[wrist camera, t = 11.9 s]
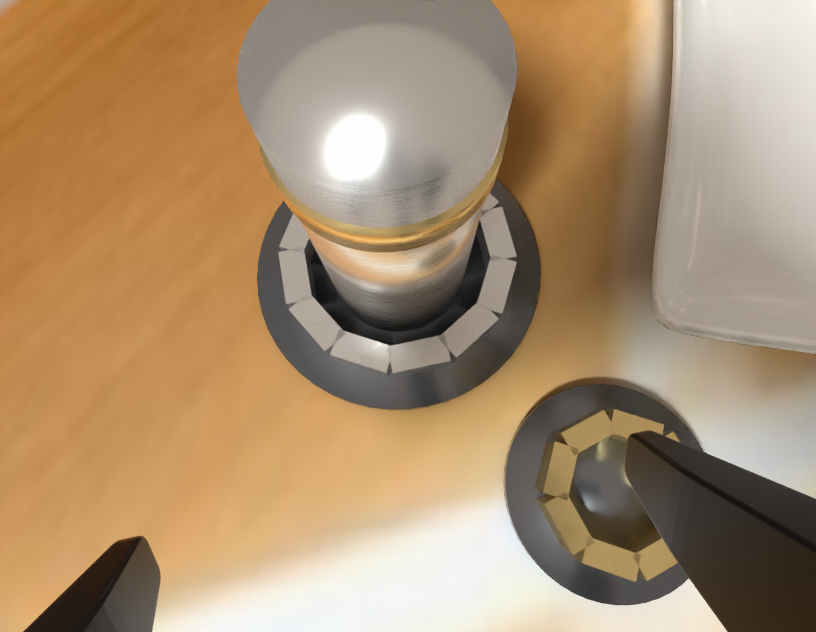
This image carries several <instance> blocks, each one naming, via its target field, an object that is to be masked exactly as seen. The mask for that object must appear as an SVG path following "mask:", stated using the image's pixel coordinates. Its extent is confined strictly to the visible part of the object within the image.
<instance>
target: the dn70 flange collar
mask: <svg viewBox="0 0 816 632" xmlns="http://www.w3.org/2000/svg"><path fill="white" fill-rule="evenodd" d="M257 281H258V296H259V300H260V305H261V310H262V314H263V317H264V319H265V322H266V325H267V328H268V330H269V332H270V334H271V336H272V338H273V339H274V341H275V343H276V345H277V346H278V348H279V349H280V351H281V352H282V353H283V355H284V356H285V357H286V359H287V360H288V361H289V362H290V363H291V364H292V365H293V366H294V367H295V368H296V369H297V370H298V371H299V372H300V373H301V374H302V375H303V376H304V377H306V378H307V379H308V380H310V381H311V382H312V383H313V384H315V385H316V386H318V387H320V388H321V389H323V390H325V391H326V392H328V393H330V394H332V395H333V396H336V397H338V398H341V399H343V400H345V401H348V402H350V403H353V404H357V405H361V406H365V407H369V408H376V409H384V410H412V409H419V408H425V407H431V406H434V405H437V404H441V403H444V402H448V401H450V400H452V399H455V398H457V397H459V396H461V395H464V394H466V393H467V392H469V391H471V390H472V389H474V388H476V387H477V386H479V385H480V384H482V383H483V382H484V381H486V380H487V379H488V378H489V377H491V376H492V375H493V374H494V373H495V372H497V371H498V370H499V369H500V368H501V367H502V365H503V364H504V363H505V362H506V361H507V360H508V359H509V358H510V357H511V356H512V354H513V353H514V351H515V350H516V348H517V347H518V346H519V344H520V343H521V341H522V340H523V338H524V336H525V334H526V332H527V330H528V328H529V326H530V324H531V321H532V318H533V315H534V312H535V309H536V305H537V300H538V295H539V289H540V263H539V254H538V250H537V245H536V241H535V237H534V235H533V232H532V230H531V227H530V224H529V222H528V220H527V218H526V216H525V215H524V213H523V211H522V209H521V207H520V206H519V205H518V203H517V202H516V200H515V199H514V198H513V196H512V195H511V194H510V193H509V191H508V190H507V189H506V188H505V187H504V186H503V185H502V184H501V183H500V182H499V181H498V180H497V179H496V180H495V182H494V185H493V187H492V189H491V192H490V193H489V195H488V197H487V198H486V200H485V201H484V204H483V208H482V212H481V216H480V219H479V223H478V227H477V230H476V234H475V238H474V241H473V245H472V249H471V252H470V256H469V260H468V263H467V267H466V271H465V274H464V278H463V282H462V285H461V289H460V291H459V294H458V296H457V298H456V300H455V301H454V303H453V304H452V306H451V307H450V308H449V309H448V311H447V312H446V313H444V314H443V315H442V316H441V317H440V318H439V319H437V320H436V321H434V322H433V323H431V324H429V325H427V326H424V327H422V328H419V329H415V330H411V331H404V332H392V331H385V330H381V329H377V328H374V327H372V326H370V325H367V324H366V323H364V322H362V321H361V320H359V319H358V318H357V317H355V316H354V315H353V314H352V313H351V312H350V311H349V310H348V308H347V307H346V306H345V304H344V303H343V301H342V299H341V298H340V296H339V294H338V292H337V290H336V288H335V286H334V284H333V282H332V280H331V279H330V277H329V275H328V273H327V271H326V269H325V267H324V265H323V263H322V261H321V259H320V257H319V256H318V254H317V252H316V250H315V248H314V246H313V244H312V242H311V240H310V238H309V236H308V235H307V233H306V231H305V229H304V227H303V225H302V223H301V221H300V220H299V219H298V218H297V217H296V216H295V215H294V214H293V213H292V211H291V210H290V209H289V207H288V206H287V205H286V203H285V201H283V203H282V204H281V206H280V207H279V208H278V210H277V211H276V213H275V215H274V217H273V219H272V221H271V223H270V224H269V226H268V229H267V232H266V234H265V237H264V240H263V243H262V247H261V251H260V256H259V261H258V274H257Z"/></svg>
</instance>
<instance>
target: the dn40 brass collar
mask: <svg viewBox="0 0 816 632" xmlns="http://www.w3.org/2000/svg"><path fill="white" fill-rule="evenodd" d="M646 430H651V431H654V432H656V433H659V434H661V435H664V436H666V437H668V438H671V439H673V440H676V441H678V442H680V443H683V444H685V445H688V446H690V447H692V448H695V449H697V450H700V451H702V449H701V448H700V446H699V444H698V442H697V441H696V439H695V438H694V436H693V435H692V434H691V432H690V431H689V430H688V428H687V427H686V426H685V425H684V424H683V423H682V422H681V421H680V420H679V418H678V417H676V416H675V415H674V414H673V413H672V412H671V411H669V410H668V409H667V408H666V407H664V406H663V405H661V404H660V403H658V402H657V401H655V400H654V399H652V398H650V397H648V396H646V395H644V394H642V393H639V392H637V391H634V390H631V389H628V388H624V387H620V386H615V385H606V384H591V385H584V386H578V387H575V388H571V389H568V390H565V391H562V392H560V393H558V394H556V395H553V396H551V397H550V398H548V399H547V400H545V401H543V402H542V403H540V404H539V405H538V406H537V407H536V408H535V409H533V410H532V411H531V412H530V413H529V415H528V416H527V417H526V418H525V419H524V420H523V422H522V423H521V425H520V426H519V428H518V429H517V431H516V433H515V435H514V437H513V439H512V441H511V444H510V447H509V450H508V453H507V457H506V462H505V467H504V496H505V501H506V506H507V511H508V514H509V517H510V520H511V524H512V526H513V528H514V530H515V532H516V535H517V537H518V539H519V540H520V542H521V544H522V545H523V547H524V548H525V550H526V551H527V553H528V554H529V555H530V556H531V558H532V559H533V560H534V562H535V563H536V564H537V565H538V566H539V567H540V568H541V569H542V570H543V571H544V572H545V573H546V574H547V575H548V576H550V577H551V578H552V579H553V580H555V581H556V582H557V583H559V584H560V585H561V586H563V587H565V588H566V589H568V590H570V591H571V592H573V593H575V594H577V595H580V596H582V597H584V598H586V599H589V600H593V601H596V602H600V603H605V604H612V605H634V604H640V603H646V602H649V601H652V600H655V599H659V598H661V597H663V596H665V595H667V594H669V593H671V592H672V591H674V590H675V589H676V588H678V587H679V586H681V585H682V584H683V583H684V582H685V581H686V580H687V579H688V578H689V577H688V576H687V575H686V573H685V572H684V570H683V569H682V568H681V566H680V565H679V563H678V562H677V561H676V559H675V558H674V556H673V555H672V553H671V552H670V550H669V549H668V547H667V545H666V544H665V542H664V541H663V539H662V537H661V536H660V534H659V532H658V530H657V529H656V527H655V525H654V524H653V522H652V520H651V519H650V517H649V515H648V513H647V512H646V510H645V508H644V507H643V505H642V503H641V501H640V500H639V498H638V496H637V495H636V493H635V491H634V489H633V488H632V486H631V484H630V483H629V481H628V479H627V477H626V474H625V469H624V464H625V454H626V445H627V438H628V437H629V435H630V434H632V433H636V432H641V431H646ZM702 452H703V451H702Z"/></svg>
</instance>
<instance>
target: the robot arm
mask: <svg viewBox="0 0 816 632" xmlns="http://www.w3.org/2000/svg"><path fill="white" fill-rule="evenodd" d="M624 469H625V474H626V477H627V479H628V481H629V483H630V484H631V486H632V488H633V489H634V491H635V493H636V495H637V496H638V498H639V500H640V501H641V503H642V505H643V507H644V508H645V510H646V512H647V513H648V515H649V517H650V519H651V520H652V522H653V524H654V525H655V527H656V529H657V530H658V532H659V534H660V536H661V537H662V539H663V541H664V542H665V544H666V545H667V547H668V549H669V550H670V552H671V553H672V555H673V556H674V558H675V559H676V561H677V562H678V563H679V565H680V566H681V568H682V569H683V570H684V572H685V573H686V575H687V576H688V577H689V579H690V580H691V582H692V583H693V584H694V586H695V587H696V588H697V590H698V591H699V593H700V594H701V595H702V597H703V598H704V600H705V601H706V602H707V604H708V605H709V607H710V608H711V609H712V611H713V612H714V613H715V615H716V616H717V618H718V619H719V620H720V622H721V623H722V625H723V626H724V627H725V629H726V630H727V632H816V499H815V498H812V497H810V496H807V495H805V494H803V493H800V492H798V491H795V490H793V489H791V488H788V487H786V486H783V485H781V484H779V483H776V482H774V481H771V480H769V479H767V478H764V477H762V476H760V475H757V474H755V473H752V472H750V471H748V470H745V469H743V468H740V467H738V466H736V465H733V464H731V463H728V462H726V461H724V460H721V459H719V458H716V457H714V456H712V455H709V454H707V453H704V452H702V451H700V450H697V449H695V448H692V447H690V446H688V445H685V444H683V443H680V442H678V441H676V440H673V439H671V438H668V437H666V436H664V435H661V434H659V433H656V432H654V431H651V430H646V431H641V432H636V433H632V434H630V435H629V437H628V438H627V445H626V454H625V464H624ZM159 587H160V569H159V566H158V564H157V562H156V559H155V557H154V555H153V553H152V550H151V548H150V546H149V544H148V541H147V540H146V538H144V537H143V536H136V537H131V538H126V539H122V540H119V541H117V542H115V543H114V544H113V545H112V546H111V547H109V548H108V549H107V550H106V551H105V552H104V553H103V554H102V555H101V556H100V557H99V558H98V559H97V560H96V561H95V562H94V563H93V564H92V565H91V566H90V567H89V568H88V569H87V570H86V571H85V572H84V573H83V574H82V575H81V576H80V577H79V578H78V579H77V580H76V581H75V582H74V583H73V584H72V585H71V586H70V587H69V588H67V589H66V590H65V591H64V592H63V593H62V594H61V595H60V596H59V597H58V598H57V599H56V600H55V601H54V602H53V603H52V604H51V605H50V606H49V607H48V608H47V609H46V610H45V611H44V612H43V613H42V614H41V615H40V616H39V617H38V618H37V619H36V620H35V621H34V622H33V623H32V624H31V625H30V626H29V627H28V628H27V629H25V630H24V631H23V632H152V629H153V623H154V617H155V611H156V605H157V599H158V593H159Z"/></svg>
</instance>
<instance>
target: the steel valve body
mask: <svg viewBox="0 0 816 632" xmlns="http://www.w3.org/2000/svg"><path fill="white" fill-rule="evenodd" d="M516 79H517V54H516V50H515V45H514V41H513V38H512V35H511V33H510V30H509V28H508V25H507V24H506V22H505V20H504V18H503V17H502V15H501V13H500V12H499V10H498V9H497V8H496V7H495V5H494V4H493V3H492V2H491V0H270V1H269V2H268V3H267V4H266V6H265V7H264V8H263V9H262V10H261V12H260V13H259V14H258V15H257V17H256V18H255V20H254V22H253V23H252V25H251V26H250V28H249V30H248V32H247V34H246V37H245V39H244V41H243V44H242V47H241V51H240V54H239V60H238V67H237V87H238V92H239V97H240V102H241V105H242V108H243V110H244V113H245V116H246V118H247V120H248V122H249V123H250V125H251V127H252V129H253V131H254V133H255V135H256V137H257V139H258V141H259V146H260V151H261V155H262V158H263V161H264V164H265V166H266V168H267V170H268V172H269V174H270V176H271V178H272V179H273V181H274V183H275V185H276V187H277V189H278V190H279V192H280V194H281V196H282V198H283V200H284V201H285V203H286V205H287V206H288V207H289V209H290V210H291V211H292V213H293V214H294V215H295V216H296V217H297V218H298V219H299V220H300V221H301V223H302V225H303V227H304V229H305V231H306V233H307V235H308V236H309V238H310V240H311V242H312V244H313V246H314V248H315V250H316V252H317V254H318V256H319V257H320V259H321V261H322V263H323V265H324V267H325V269H326V271H327V273H328V275H329V277H330V279H331V280H332V282H333V284H334V286H335V288H336V290H337V292H338V294H339V296H340V298H341V299H342V301H343V303H344V304H345V306H346V307H347V308H348V310H349V311H350V312H351V313H352V314H353V315H354V316H355V317H357V318H358V319H359V320H361V321H362V322H364V323H366V324H367V325H370V326H372V327H374V328H377V329H381V330H385V331H392V332H404V331H411V330H415V329H419V328H422V327H424V326H427V325H429V324H431V323H433V322H434V321H436V320H437V319H439V318H440V317H441V316H442V315H443V314H444V313H446V312H447V311H448V309H449V308H450V307H451V306H452V304H453V303H454V301H455V300H456V298H457V296H458V294H459V291H460V289H461V285H462V282H463V278H464V274H465V271H466V267H467V263H468V260H469V256H470V252H471V249H472V245H473V241H474V238H475V234H476V230H477V227H478V223H479V219H480V216H481V212H482V208H483V204H484V201H485V200H486V198H487V197H488V195H489V193H490V192H491V189H492V187H493V185H494V182H495V180H496V177H497V174H498V170H499V167H500V163H501V160H502V157H503V153H504V149H505V145H506V142H507V135H508V113H509V109H510V105H511V102H512V98H513V94H514V90H515V87H516Z"/></svg>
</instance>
